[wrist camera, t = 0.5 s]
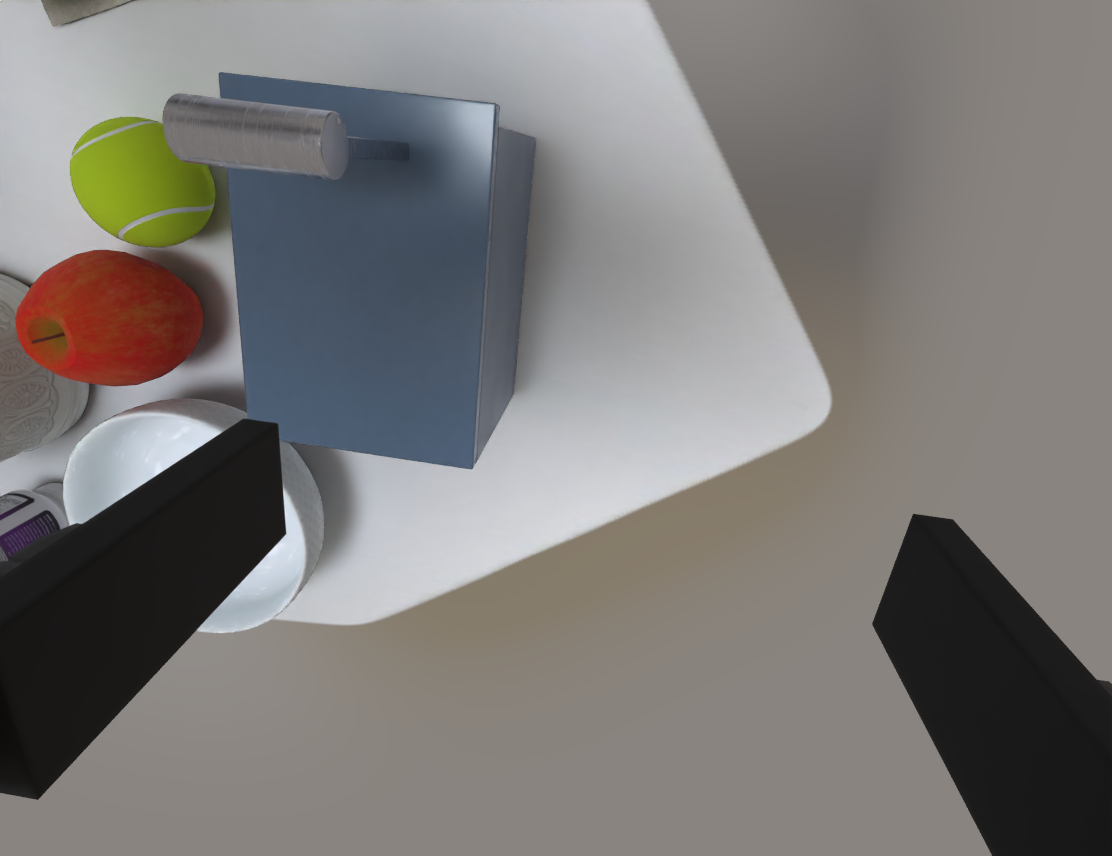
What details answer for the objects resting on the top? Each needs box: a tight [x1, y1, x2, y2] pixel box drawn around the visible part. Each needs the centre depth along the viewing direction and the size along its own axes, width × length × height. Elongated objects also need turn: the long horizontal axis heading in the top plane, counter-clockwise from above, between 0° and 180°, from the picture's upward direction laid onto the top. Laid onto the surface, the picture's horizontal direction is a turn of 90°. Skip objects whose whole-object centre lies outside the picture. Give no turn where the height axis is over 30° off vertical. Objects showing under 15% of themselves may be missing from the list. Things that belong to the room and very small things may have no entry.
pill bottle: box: [0, 483, 70, 562], centre depth 46 cm, size 5×5×10 cm
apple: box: [15, 250, 204, 386], centre depth 38 cm, size 8×8×11 cm
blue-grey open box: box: [476, 127, 536, 462], centre depth 35 cm, size 16×12×11 cm
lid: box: [163, 72, 500, 469], centre depth 26 cm, size 17×12×9 cm
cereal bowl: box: [63, 398, 325, 633], centre depth 45 cm, size 17×17×7 cm
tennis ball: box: [70, 117, 215, 247], centre depth 37 cm, size 7×7×7 cm
